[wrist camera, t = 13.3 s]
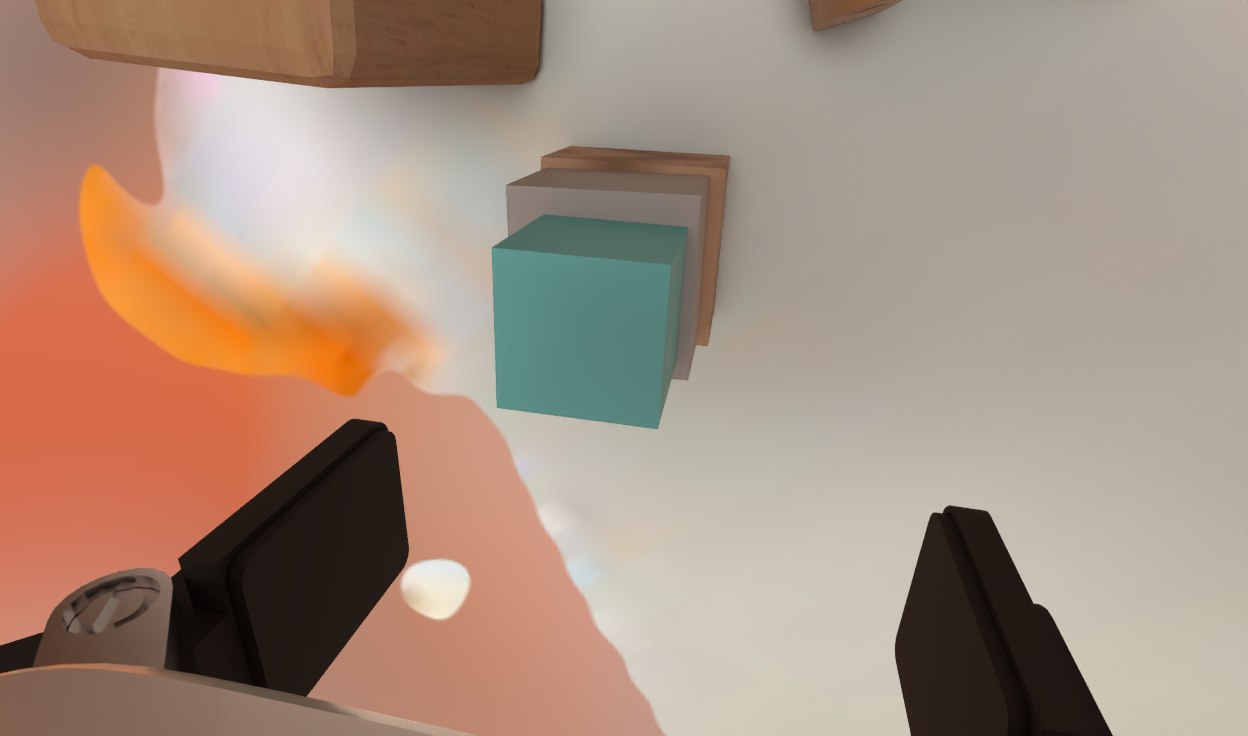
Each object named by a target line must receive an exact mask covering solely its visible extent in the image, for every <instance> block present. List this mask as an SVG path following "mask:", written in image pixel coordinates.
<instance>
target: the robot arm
mask: <svg viewBox="0 0 1248 736" xmlns="http://www.w3.org/2000/svg"><path fill="white" fill-rule="evenodd" d="M408 553H409V545H408V537H407V529H406V521H405V512H404V503H403V495H402V487H401V479H400V470H399V462H398V453H397V445H396V439H395V436H394V434H393V433H392V432H389V431H388V428H387V427H386V425H385V424H383V423H381V422H374V421H368V420H361V419H351V420H349V421H347V422H346V423H345V424H344V425H343V426H341V427H340V428H339V429H338V430H336V431H335V432H334V433H333V434H331V435H330V436H329V437H328V438H326V439H325V440H324V441H323V442H322V443H320V444H319V445H318V446H317V447H315V448H314V449H313V450H312V451H310V452H309V453H308V454H307V455H305V456H304V457H303V458H302V459H301V460H299V461H298V462H297V463H296V464H294V465H293V466H292V467H291V468H290V469H288V470H287V471H286V472H284V473H283V474H282V475H281V476H280V477H278V478H277V479H276V480H275V481H273V482H272V483H271V484H270V485H269V486H267V487H266V488H265V489H264V490H262V491H261V492H260V493H259V494H258V495H256V496H255V497H254V498H253V499H251V500H250V501H249V502H247V503H246V504H245V505H244V506H243V507H241V508H240V509H239V510H238V511H236V512H235V513H234V514H233V515H231V516H230V517H229V518H228V519H226V520H225V521H224V522H223V523H222V524H220V525H219V526H218V527H217V528H215V529H214V530H213V531H212V532H210V533H209V534H208V535H207V536H206V537H204V538H203V539H202V540H200V541H199V542H198V543H197V544H196V545H194V546H193V547H192V548H191V549H189V550H188V551H187V552H186V553H185V554H183V555H182V556H181V557H180V558H178V560H179V564H180V567H181V570H180V571H179V572H177V573H176V574H175V575H174V576H173V577H171V578H170V577H169V576H168V575H167V574H166V573H165V572H162V571H159V570H156V569H149V568H146V569H145V568H136V569H131V570H124V571H119V572H116V573H112V574H109V575H107V576H103V577H101V578H98V579H96V580H94V581H92V582H90V583H88V584H86V585H84V586H82V587H80V588H79V589H77V590H76V591H74V592H73V593H71V594H70V595H68V596H67V597H66V598H65V599H64V600H63V601H62V602H61V603H60V604H58V605H57V606H56V607H55V609H54V610H53V612H52V614H51V615H50V617H49V619H48V621H47V624H46V627H45V630H44V632H43V633H39V634H36V635H33V636H29V637H26V638H23V639H20V640H17V641H14V642H10V643H7V644H4V645H1V646H0V736H478V735H474V734H469V733H465V732H460V731H456V730H452V729H447V728H443V727H439V726H434V725H430V724H425V723H421V722H416V721H412V720H407V719H403V718H398V717H393V716H389V715H385V714H380V713H376V712H371V711H367V710H362V709H358V708H353V707H348V706H344V705H340V704H335V703H331V702H326V701H322V700H317V699H313V698H308V697H307V695H308V694H309V693H310V691H311V690H312V689H313V687H314V686H315V685H316V683H317V682H318V681H319V679H320V678H321V677H322V675H323V674H324V673H325V671H326V670H327V669H328V667H329V666H330V665H331V664H332V662H333V661H334V659H335V658H336V657H337V655H338V654H339V653H340V652H341V650H342V649H343V648H344V646H345V645H346V644H347V642H348V641H349V640H350V638H351V637H352V636H353V634H354V633H355V632H356V630H357V629H358V628H359V626H360V625H361V624H362V622H363V621H364V620H365V618H366V617H367V616H368V614H369V613H370V612H371V610H372V609H373V608H374V606H375V605H376V604H377V602H378V601H379V600H380V599H381V597H382V596H383V595H384V593H385V592H386V590H387V589H388V588H389V587H390V585H391V584H392V583H393V581H394V580H395V579H396V577H397V576H398V574H399V573H400V572H401V571H402V569H403V568H404V566H405V564H406V562H407V558H408ZM895 658H896V664H897V669H898V674H899V679H900V683H901V688H902V693H903V698H904V703H905V708H906V713H907V718H908V722H909V727H910V732H911V736H1113V735H1112V733H1111V731H1110V729H1109V727H1108V726H1107V724H1106V722H1105V720H1104V718H1103V716H1102V714H1101V712H1100V710H1099V708H1098V706H1097V704H1096V702H1095V700H1094V698H1093V696H1092V694H1091V692H1090V690H1089V688H1088V686H1087V684H1086V682H1085V680H1084V678H1083V677H1082V675H1081V673H1080V671H1079V669H1078V667H1077V665H1076V663H1075V661H1074V659H1073V657H1072V655H1071V653H1070V651H1069V649H1068V647H1067V645H1066V643H1065V641H1064V639H1063V637H1062V635H1061V633H1060V631H1059V629H1058V628H1057V626H1056V624H1055V622H1054V620H1053V618H1052V616H1051V615H1050V613H1049V612H1048V610H1047V609H1046V608H1045V607H1043V606H1041V605H1039V604H1033V602H1032V600H1031V598H1030V596H1029V593H1028V591H1027V589H1026V587H1025V585H1024V583H1023V581H1022V579H1021V577H1020V575H1019V573H1018V571H1017V569H1016V567H1015V565H1014V563H1013V561H1012V559H1011V557H1010V555H1009V552H1008V550H1007V548H1006V546H1005V544H1004V542H1003V540H1002V538H1001V536H1000V534H999V532H998V530H997V528H996V526H995V524H994V522H993V520H992V518H991V516H990V514H989V513H988V512H987V511H984V510H977V509H970V508H963V507H956V506H950V505H949V506H947V507H946V508H945V509H944V511H943V513H935V512H934V513H932V515H931V516H930V519H929V522H928V526H927V529H926V533H925V536H924V540H923V544H922V547H921V551H920V554H919V558H918V561H917V565H916V568H915V572H914V575H913V579H912V583H911V586H910V590H909V593H908V597H907V600H906V604H905V607H904V611H903V615H902V618H901V622H900V625H899V629H898V632H897V636H896V642H895Z"/></svg>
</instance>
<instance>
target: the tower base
mask: <svg viewBox="0 0 1248 736" xmlns="http://www.w3.org/2000/svg"><path fill="white" fill-rule="evenodd" d="M729 157H730V156H721V155H705V154H689V153H673V152H657V151H641V150H625V149H609V148H593V147H577V146H570V147H567V148H565V149H562V150H559V151H556V152H554V153H551V154H548V155H545V156H543V157H541V170H543V169H545V168H565V169H586V170H606V171H627V172H647V173H667V174H688V175H708V176H710V181H709V195H708V208H707V222H706V235H705V248H704V262H703V275H702V289H701V302H700V315H699V329H698V336H697V341H696V345H703V346H708V342H709V336H710V330H711V324H712V318H713V313H714V304H715V294H716V285H717V275H718V265H719V255H720V245H721V236H722V226H723V216H724V206H725V196H726V187H727V177H728V167H729Z"/></svg>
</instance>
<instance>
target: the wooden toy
mask: <svg viewBox="0 0 1248 736" xmlns="http://www.w3.org/2000/svg"><path fill="white" fill-rule="evenodd" d="M900 1H902V0H809V5H810V11H811V18H812V24H813V30H814V31H817V30H820V29H824V28H827V27H831V26H834V25H838V24H841V23H845V22H848V21H851V20H855V19H858V18H862V17H865V16H868V15H872V14H875V13H878V12H881V11H883V10H885V9H887V8H889V7H891V6H892V5H894V4H896V3H898V2H900Z"/></svg>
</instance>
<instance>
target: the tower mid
mask: <svg viewBox="0 0 1248 736" xmlns="http://www.w3.org/2000/svg"><path fill="white" fill-rule="evenodd" d="M709 181H710V176H708V175H688V174H667V173H647V172H627V171H606V170H586V169H565V168H545V169H543V170H540V171H538V172H536V173H533V174H531V175H529V176H526V177H524V178H522V179H519V180H517V181H515V182H512V183H510V184H508V185H506V196H507V218H508V237H509V236H511V235H512V234H514V233H515V232H517V231H518V230H520V229H522V228H523V227H525V226H526V225H528V224H529V223H531V222H532V221H534V220H535V219H537V218H539V217H540V216H542V215H543V214H546V215H557V216H569V217H580V218H591V219H603V220H614V221H625V222H636V223H648V224H659V225H670V226H681V227H688V232H687V243H686V254H685V265H684V276H683V287H682V298H681V309H680V320H679V331H678V342H677V353H676V364H675V367H674V371H673V375H672V378H671V379H679V380H688V378H689V373H690V369H691V364H692V359H693V355H694V350H695V346H696V341H697V336H698V329H699V315H700V302H701V289H702V275H703V262H704V248H705V235H706V222H707V208H708V195H709Z"/></svg>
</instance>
